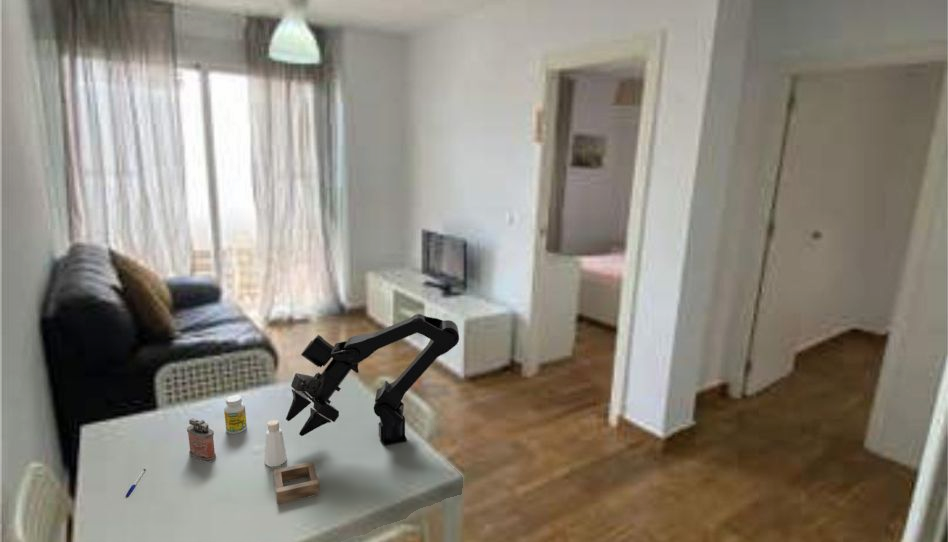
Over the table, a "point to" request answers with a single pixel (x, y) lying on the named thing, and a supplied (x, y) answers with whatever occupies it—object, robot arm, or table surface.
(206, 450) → the lighter
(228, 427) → the supplement bottle
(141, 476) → the ballpoint pen
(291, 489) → the socket block
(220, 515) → the table surface
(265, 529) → the table surface
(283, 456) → the pepper shaker
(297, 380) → the robot arm
